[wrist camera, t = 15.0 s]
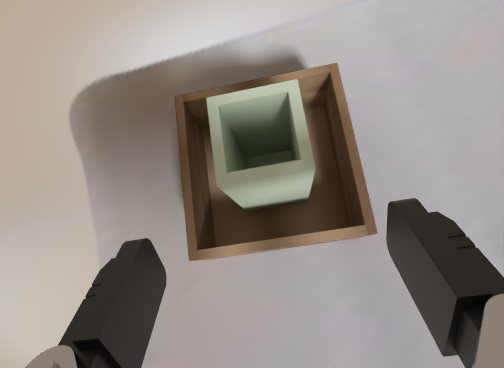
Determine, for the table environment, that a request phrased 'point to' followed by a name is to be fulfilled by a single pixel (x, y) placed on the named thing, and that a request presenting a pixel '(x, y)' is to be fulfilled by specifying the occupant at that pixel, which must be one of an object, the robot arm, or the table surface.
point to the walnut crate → (282, 217)
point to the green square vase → (262, 146)
